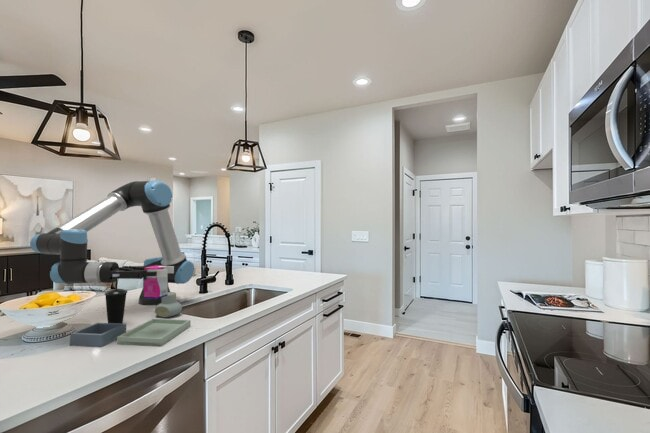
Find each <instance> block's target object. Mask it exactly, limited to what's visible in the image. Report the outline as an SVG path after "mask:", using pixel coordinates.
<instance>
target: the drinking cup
mask: <svg viewBox="0 0 650 433" xmlns="http://www.w3.org/2000/svg"><path fill="white" fill-rule="evenodd" d="M114 283H115V285H114V287H115V288H113V289H110V290H107V291H106V292H104V296H105V306H106V307H105V308H106V317H107V323H120V324H124V323H123V322H124V315H125V307H126V299H127V293H128V290H127V289H123V288H118V279H117V280H116V281H115V282H114Z"/></svg>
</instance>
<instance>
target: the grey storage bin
mask: <svg viewBox="0 0 650 433" xmlns="http://www.w3.org/2000/svg"><path fill="white" fill-rule="evenodd" d="M126 332H127V323H123V324H120V323H108V322H95V323H93V324H90V325H88V326H86V327H83V328H80V329H78V330H76V331H74V332H71V333H70V334H69V346H72V347H73V346H74V347H91V348H92V347H96V348H103V347H104V346H106V345H108V344H110V343H112V342H114V341H115V340H116V341H117V337H118V336H120V335H122V334H124V333H126Z"/></svg>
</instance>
